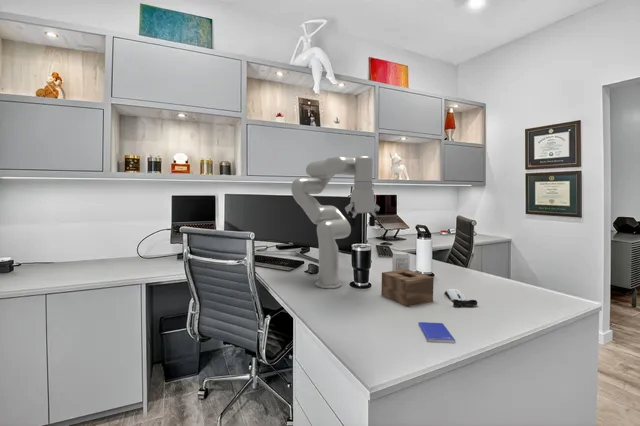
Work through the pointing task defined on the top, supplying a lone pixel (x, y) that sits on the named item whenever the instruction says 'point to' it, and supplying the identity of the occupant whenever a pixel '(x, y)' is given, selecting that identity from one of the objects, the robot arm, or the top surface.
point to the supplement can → (400, 261)
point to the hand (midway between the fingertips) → (362, 226)
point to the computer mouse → (459, 298)
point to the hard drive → (436, 332)
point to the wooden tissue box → (407, 287)
